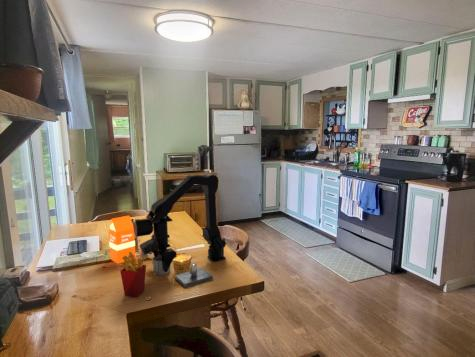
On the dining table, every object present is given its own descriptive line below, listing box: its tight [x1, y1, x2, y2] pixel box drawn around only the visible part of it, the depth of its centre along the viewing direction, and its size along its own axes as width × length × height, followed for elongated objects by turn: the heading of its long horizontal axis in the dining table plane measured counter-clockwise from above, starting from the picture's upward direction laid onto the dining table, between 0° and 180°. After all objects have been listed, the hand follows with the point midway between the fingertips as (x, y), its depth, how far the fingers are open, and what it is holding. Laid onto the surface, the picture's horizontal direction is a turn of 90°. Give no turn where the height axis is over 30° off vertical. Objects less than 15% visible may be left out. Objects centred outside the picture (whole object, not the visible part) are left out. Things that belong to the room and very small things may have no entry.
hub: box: [152, 255, 171, 276], centre depth 127 cm, size 7×7×6 cm
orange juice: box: [108, 215, 137, 264], centre depth 140 cm, size 8×9×20 cm
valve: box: [138, 245, 153, 259], centre depth 142 cm, size 7×7×12 cm
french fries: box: [117, 252, 147, 299], centre depth 108 cm, size 9×8×15 cm
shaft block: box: [174, 263, 214, 288], centre depth 120 cm, size 12×9×6 cm
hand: (162, 268), depth 127 cm, fingers open, 8 cm apart
